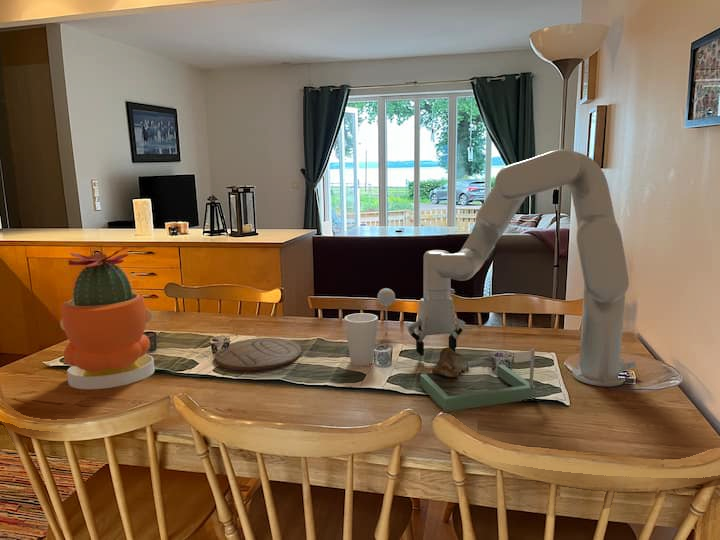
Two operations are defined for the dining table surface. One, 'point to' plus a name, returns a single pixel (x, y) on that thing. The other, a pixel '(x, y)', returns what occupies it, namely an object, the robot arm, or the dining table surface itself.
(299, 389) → the dining table surface
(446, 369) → the decorative stone
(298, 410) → the dining table surface
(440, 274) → the robot arm
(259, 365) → the trivet
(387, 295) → the lollipop
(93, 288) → the potted cactus
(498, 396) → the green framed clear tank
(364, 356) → the foam cup
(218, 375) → the dining table surface
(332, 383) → the dining table surface
